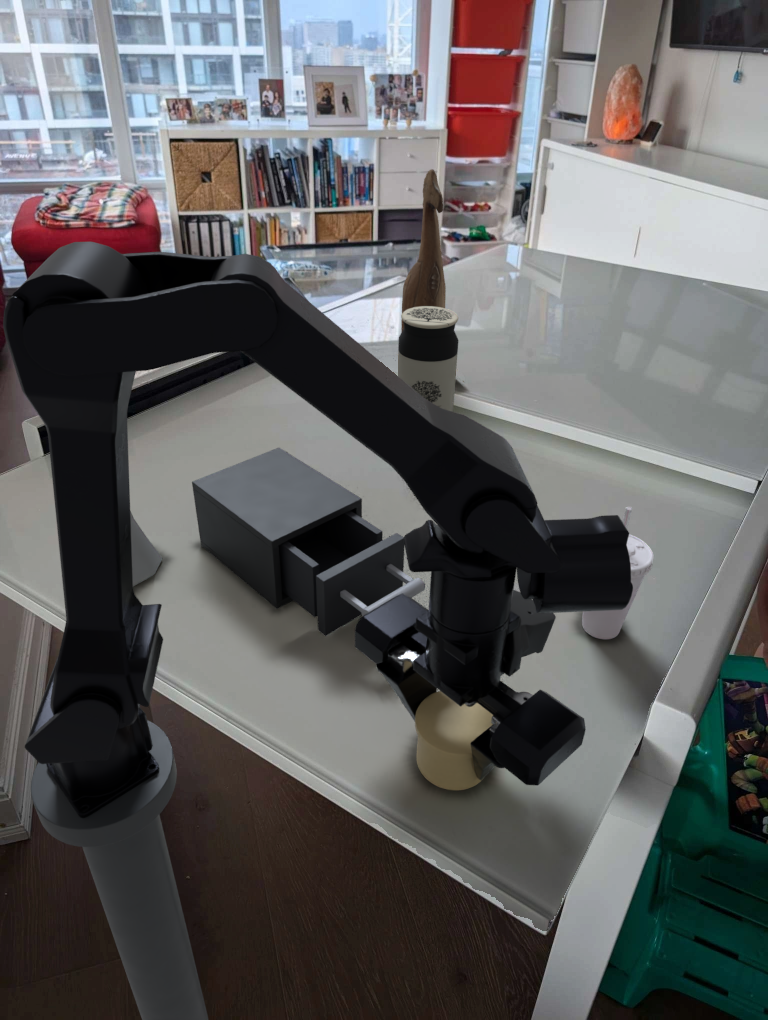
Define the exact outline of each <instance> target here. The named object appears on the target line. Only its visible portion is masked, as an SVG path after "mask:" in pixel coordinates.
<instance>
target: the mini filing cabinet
mask: <svg viewBox="0 0 768 1020" xmlns="http://www.w3.org/2000/svg"><path fill="white" fill-rule="evenodd" d="M191 484H192V485H191V486H192V492H193V500H194V505H195V507H194V508H195V513H196V520H197V526H198V533H199V534H198V535H199V540H200V546H201V547H202V548H203V549H205V550H206V551H207V552H208V553H209V554H211V555H212V557H214V558H215V559H216V560H218V561H219V562H220V563H221V564H222V565H224V566H225V567H226V568H227V569H228V570H229V571H231V572H232V573H233V574H234V575H235V576H237V577H238V578H239V579H240V580H241V581H243V582H244V583H245V584H246V585H247V586H249V587H250V588H251V589H252V590H253V591H254V592H256V593H257V594H258V595H259V596H260V597H262V598H263V599H264V600H265V601H266V602H268V603H269V604H270V605H271V606H272V607H274V608H275V609H276V610H279V609H280V608H282V607H284V606H286V605H287V604H289V603H291V602H294V600H292V599H291V598H290V597H289V596H287V595H286V594H285V593H284V592H282V585H281V571H280V557H279V545H280V544H282V543H284V542H286V541H288V540H290V539H292V538H294V537H296V536H298V535H300V534H302V533H305V532H307V531H309V530H311V529H313V528H315V527H317V526H319V525H321V524H323V523H325V522H327V521H329V520H331V519H333V518H336V517H338V516H340V515H342V514H344V513H346V512H348V511H352V512H353V513H355V514H357V515H358V516H360V517H361V518H363V498H362V497H360V496H358V495H357V494H355V493H354V492H352V491H350V490H349V489H348V488H346V487H344V486H343V485H341V484H339V483H337V481H334V480H332V479H331V478H329V477H328V476H326V475H324V474H323V473H322V472H320V471H318V470H316V469H315V468H314V467H312V466H311V465H308V464H307V463H305V462H303V461H302V460H300V459H299V458H297V457H296V456H293V455H292V454H290V453H289V452H287V451H286V450H284V449H283V448H281V447H277V448H274V449H272V450H269V451H265V452H263V453H260V454H259V455H255V456H254V457H251V458H248V459H246V460H243V461H240V462H238V463H236V464H232V465H231V466H227V467H225V468H223V469H221V470H218V471H216V472H215V471H214V472H213V473H211V474H208V475H205V476H203V477H200V478H198V479H195V480H193V481H191Z"/></svg>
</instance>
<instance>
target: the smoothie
mask: <svg viewBox="0 0 768 1020" xmlns="http://www.w3.org/2000/svg"><path fill="white" fill-rule="evenodd" d="M632 510H633V507H632V506H626V507H625V508H624V512H623V513H624V514H623V517H622V522H623V524H624V525H625V527H626V528H627V529H628V526H629V523H630V518H631V515H632ZM627 549H628V553H629V557H630V565H631V583H632V585H633V591H632V596H631V599H630V601H629V603H628V605H627V606H626V608H624V609H622V610H604V611H583V612H582V617H581V619H582V620H581V626H582V628H583V630H584V632H586V633H587V635H590V636H591V637H593V638H596V639H600V640H611V639H614V638H616V637H617V636H618V635H619V634H620V632H621V630H622V627H623V625H624V623H625V621H626V619H627V616H628V614H629V612H630V609H631V607H632V605H633V602H634V600H635V598H636V596H637V593H638V592H639V589H640V586H641V585H642V584H643V583H642V582H643V580H644V578H645V576H647V574H648V573H650V571H651V570H652V569H653V562H654V557H655V555H654V552H653V550H652V548H651V547H650V546H649V545H648V544H647V543H646V541H644V540H642V539H641V538H639V537H637V536H635V535H634V534H633V535H632V534H630V533H629V537H628V541H627Z"/></svg>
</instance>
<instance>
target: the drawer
mask: <svg viewBox="0 0 768 1020" xmlns="http://www.w3.org/2000/svg"><path fill="white" fill-rule="evenodd" d="M383 533H384V532H383V530H381V528H379V527H377V526H375V525H374V524H372V523H371V522H369V521H367V520H366V519H364V518H363V517H362V518H361V517H360V516H358V515H357V514H355V513H353V512H352V511H348V512H346V513H344V514H342V515H340V516H338V517H336V518H333V519H331V520H329V521H327V522H325V523H323V524H321V525H319V526H317V527H315V528H313V529H311V530H309V531H307V532H305V533H302V534H300V535H298V536H296V537H294V538H292V539H290V540H288V541H286V542H284V543H282V544H280V545H279V557H280V571H281V585H282V592H284V593H285V594H286V595H287V596H289V597H290V598H291V599H292V600H293V602H295V604H296V603H297V605H298V606H299V607H301V608H302V609H303V610H305V611H306V612H307V613H308V614H309V615H311V616H312V617H313V618H316V619H317V631H319V633H321V634H322V636H324V637H327V636H329V635H330V634H332V633H333V632H335V631H337V630H338V629H341V628H342V627H343V626H345V625H347V624H349V623H350V622H352V621H353V620H355V619H356V618H359V617H362V616H364V615H365V614H367V613H369V612H370V611H372V610H374V609H375V608H377V607H379V606H380V605H382V604H384V603H385V602H387V601H389V600H390V599H392V598H394V597H396V596H398V595H400V594H402V593H403V594H405V595H407V596H409V597H411V598H412V599H413V598H414V597H416V596H418V595H419V594H420V593H423V592H424V591H425V589H426V583H425V582H424V580H423V579H421V578H420V577H415V578H412V577H411V576H410V575H408V574H407V573H406V572H404V568H405V567H404V566H405V565H404V564H405V545H404V536H403V535H401V534H400V533H398V532H395V533H394V534H392V535H390V536H388V537H386V538H384V539H383V536H384V535H383Z"/></svg>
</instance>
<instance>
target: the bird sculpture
mask: <svg viewBox="0 0 768 1020" xmlns="http://www.w3.org/2000/svg"><path fill="white" fill-rule="evenodd" d="M438 181H439V180H438V175H437V173H436V171H435V169H434V168H431V169H429V170H428V171H427V172H426V174H425V177H424V178H423V184H422V199H423V200H422V220H421V221H422V223H421V234H420V235H421V237H420V245H419V252H418V259H417V261H416V262H415V263H414V264H413V266H411V268H410V270H409V272H408V274H407V276H406V278H405V280H404V282H403V286H402V295H401V296H402V300H401V314H402V313H403V312H404V311H405V310H407V309H410V308H414V307H421V306H434V307H441V308H445V309H446V295H447V294H446V293H447V292H446V291H447V290H446V289H447V288H446V287H447V286H446V279H445V271H444V266H443V265H444V264H443V257H442V256H443V254H442V248H441V247H442V246H441V235H440V225H439V224H440V223H439V215H438V214H441V213H443V211H444V198H443V194H442V192H441V189H440V186H439V182H438ZM400 320H401V329H400V330H401V332H402V331H403V329H404V322H403V320H402V319H400Z"/></svg>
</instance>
